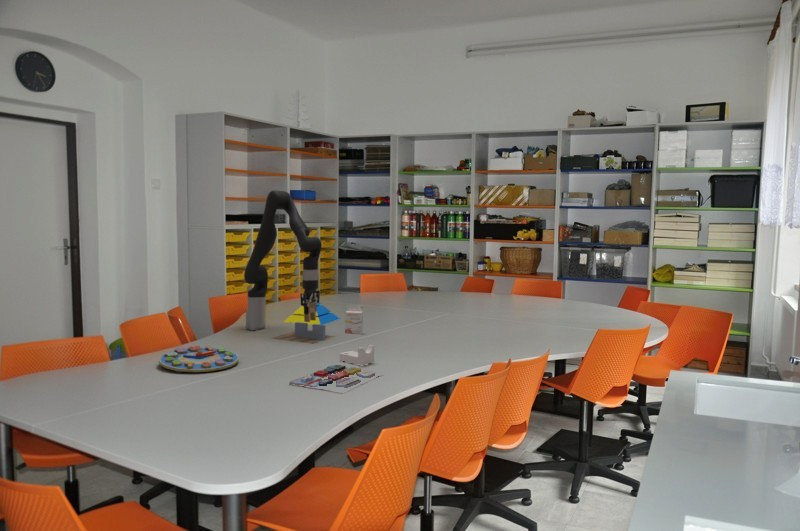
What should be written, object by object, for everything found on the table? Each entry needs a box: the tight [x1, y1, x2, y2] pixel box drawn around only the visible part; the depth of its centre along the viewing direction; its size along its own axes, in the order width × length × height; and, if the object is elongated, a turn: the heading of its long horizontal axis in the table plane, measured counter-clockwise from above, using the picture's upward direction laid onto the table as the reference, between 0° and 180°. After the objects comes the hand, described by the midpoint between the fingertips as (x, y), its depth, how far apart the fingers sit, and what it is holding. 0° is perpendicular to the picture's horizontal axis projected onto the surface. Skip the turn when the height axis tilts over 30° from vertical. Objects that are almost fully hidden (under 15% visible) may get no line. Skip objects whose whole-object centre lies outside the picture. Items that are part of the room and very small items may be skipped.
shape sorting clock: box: [158, 345, 240, 374], centre depth 259 cm, size 31×30×6 cm
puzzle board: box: [288, 364, 376, 388], centre depth 241 cm, size 30×23×3 cm
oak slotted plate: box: [304, 301, 316, 322], centre depth 311 cm, size 2×6×9 cm, turn 156°
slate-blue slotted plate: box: [294, 322, 326, 341], centre depth 311 cm, size 16×2×7 cm, turn 65°
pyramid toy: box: [283, 301, 341, 326], centre depth 367 cm, size 25×25×14 cm
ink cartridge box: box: [344, 304, 364, 336], centre depth 328 cm, size 9×5×15 cm, turn 84°
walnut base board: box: [270, 331, 336, 345], centre depth 313 cm, size 24×20×1 cm
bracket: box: [338, 344, 375, 365], centre depth 269 cm, size 13×7×8 cm, turn 52°
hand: (310, 313), depth 311 cm, fingers closed on oak slotted plate, 6 cm apart
